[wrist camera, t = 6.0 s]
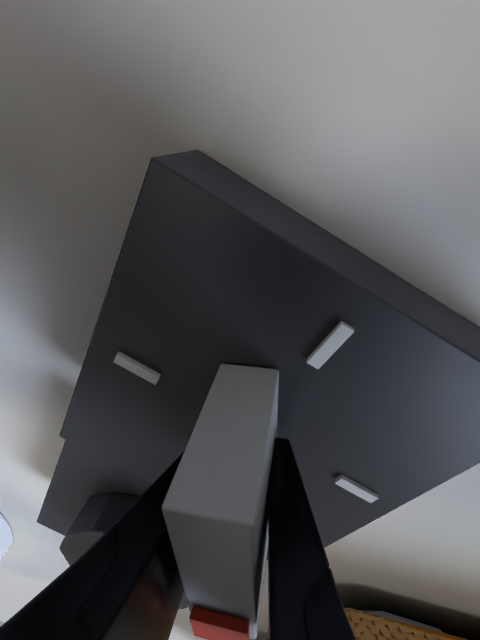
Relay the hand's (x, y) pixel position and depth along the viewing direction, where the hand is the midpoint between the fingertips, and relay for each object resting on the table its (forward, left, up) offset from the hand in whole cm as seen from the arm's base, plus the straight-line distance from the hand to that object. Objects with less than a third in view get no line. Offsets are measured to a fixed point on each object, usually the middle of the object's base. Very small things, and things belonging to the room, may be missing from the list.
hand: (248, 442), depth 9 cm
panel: (0, 0, -4) cm, 4 cm away
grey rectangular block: (0, 0, 0) cm, 0 cm away
